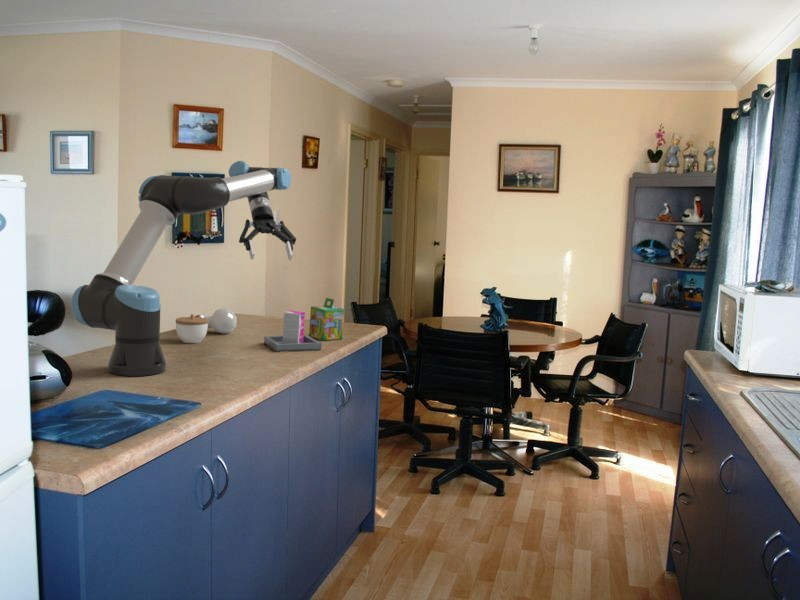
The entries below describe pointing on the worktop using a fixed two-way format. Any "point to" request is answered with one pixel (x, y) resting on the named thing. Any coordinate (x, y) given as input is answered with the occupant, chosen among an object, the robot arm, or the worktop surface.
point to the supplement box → (293, 327)
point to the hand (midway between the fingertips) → (271, 257)
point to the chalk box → (326, 321)
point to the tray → (307, 344)
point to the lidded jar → (191, 328)
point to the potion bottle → (221, 320)
